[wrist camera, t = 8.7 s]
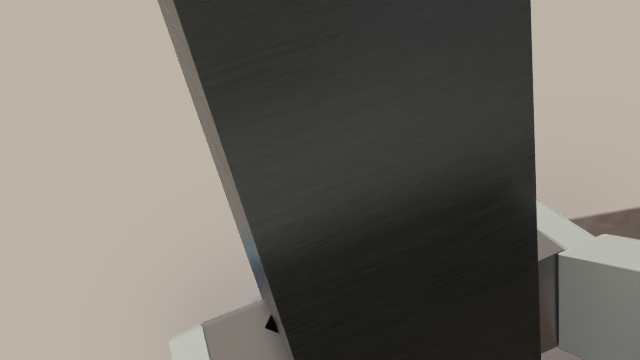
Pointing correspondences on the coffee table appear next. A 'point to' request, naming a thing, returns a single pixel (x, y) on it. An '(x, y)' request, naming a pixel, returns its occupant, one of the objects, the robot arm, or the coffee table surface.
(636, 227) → the coffee table surface
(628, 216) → the coffee table surface
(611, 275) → the robot arm
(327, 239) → the grey l-shaped piece
